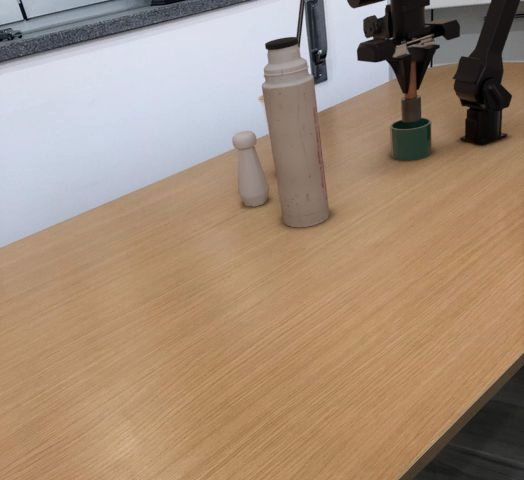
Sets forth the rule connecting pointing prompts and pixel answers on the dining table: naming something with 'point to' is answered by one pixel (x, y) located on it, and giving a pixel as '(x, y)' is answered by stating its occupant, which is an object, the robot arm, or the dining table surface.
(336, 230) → the dining table surface
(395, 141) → the enamel cup
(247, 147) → the salt shaker
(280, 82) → the thermos bottle
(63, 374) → the dining table surface
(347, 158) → the dining table surface
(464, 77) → the robot arm
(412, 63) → the wooden peg on base
